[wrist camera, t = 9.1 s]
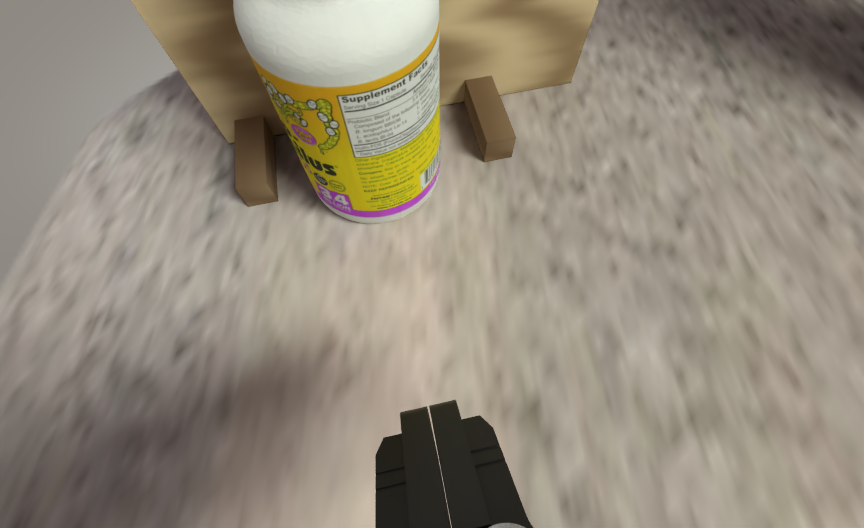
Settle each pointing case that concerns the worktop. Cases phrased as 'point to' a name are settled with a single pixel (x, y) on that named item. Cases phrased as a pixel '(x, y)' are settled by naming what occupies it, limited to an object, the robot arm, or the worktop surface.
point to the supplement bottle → (354, 96)
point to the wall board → (458, 69)
